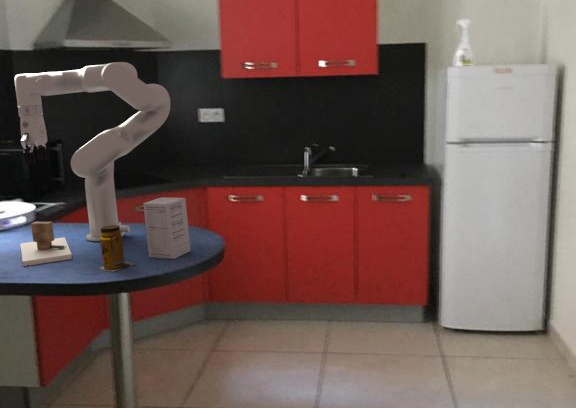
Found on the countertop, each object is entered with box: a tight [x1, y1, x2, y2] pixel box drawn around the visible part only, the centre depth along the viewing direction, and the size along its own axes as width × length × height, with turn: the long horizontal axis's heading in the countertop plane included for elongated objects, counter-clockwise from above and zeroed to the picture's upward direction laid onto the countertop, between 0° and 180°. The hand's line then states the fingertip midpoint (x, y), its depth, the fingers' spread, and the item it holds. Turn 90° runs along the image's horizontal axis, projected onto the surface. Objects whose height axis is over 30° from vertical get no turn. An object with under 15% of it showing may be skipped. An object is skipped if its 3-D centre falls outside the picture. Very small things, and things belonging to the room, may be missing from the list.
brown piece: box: [30, 221, 64, 250], centre depth 209 cm, size 10×4×8 cm, turn 75°
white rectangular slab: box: [20, 237, 73, 267], centre depth 210 cm, size 24×14×2 cm, turn 23°
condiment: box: [98, 225, 135, 273], centre depth 191 cm, size 7×8×12 cm
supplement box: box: [142, 196, 191, 260], centre depth 200 cm, size 10×9×17 cm
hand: (36, 162), depth 225 cm, fingers open, 9 cm apart
